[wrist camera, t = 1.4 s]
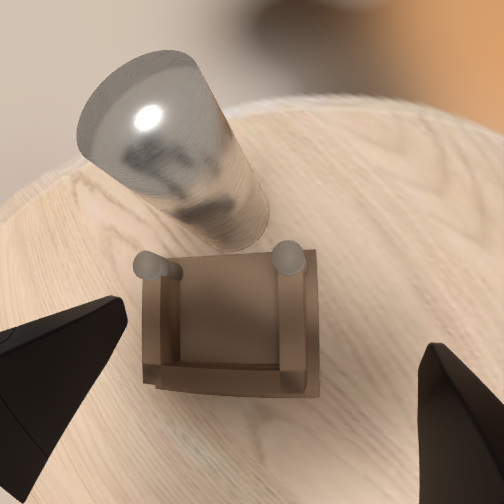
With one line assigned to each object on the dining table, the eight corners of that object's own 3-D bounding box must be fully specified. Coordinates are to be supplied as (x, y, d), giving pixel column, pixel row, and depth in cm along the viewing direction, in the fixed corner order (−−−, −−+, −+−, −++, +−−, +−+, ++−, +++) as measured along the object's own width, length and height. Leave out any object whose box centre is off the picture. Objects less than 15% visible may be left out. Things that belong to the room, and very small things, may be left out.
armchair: (319, 395, 19) (317, 414, 15) (159, 387, 22) (126, 398, 18) (315, 251, 22) (313, 233, 17) (159, 260, 24) (126, 247, 20)
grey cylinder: (270, 248, 22) (192, 146, 9) (196, 253, 24) (63, 177, 10) (267, 177, 24) (205, 36, 10) (199, 185, 25) (95, 73, 12)
